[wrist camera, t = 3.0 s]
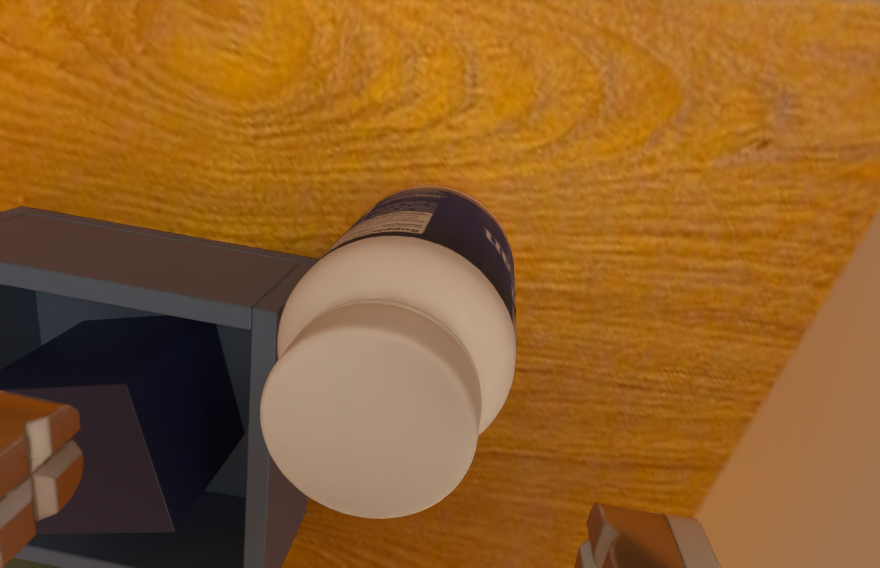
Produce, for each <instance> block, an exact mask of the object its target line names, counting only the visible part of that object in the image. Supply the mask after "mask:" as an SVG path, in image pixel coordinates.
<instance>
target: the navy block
mask: <svg viewBox="0 0 880 568" xmlns="http://www.w3.org/2000/svg"><path fill="white" fill-rule="evenodd" d="M0 390H1V391H6V392H9V393H12V392H13V393H18V394H22V395H27V396H32V397H37V398H41V399H46V400H51V401H56V402H61V403H65V404H70V405H72V406H73V407H75V408H76V409H77V410H79V416H80V424H81V429H80V430H79V432H78V433H77V434H76V435H75V436H74V437H73V439H74V441H75V442H76V443H77V445H78V446H79V447H80V449H81V450H82V451H83V458H84V468H83V473H82V478H81V481H80V483H79V485H78V487H77V489H76V491H75V493H74V495H73V496H72V498H71V500H70V501H69V502H68V503H67V504H66V505H65V506H64V507H63V508H62V509H61V510H60V511H59V512H58V513H56V514H54V515H51V516H49V517H47V518H44V519H42V520H40V521H38V522H37V533H36V534H62V533H150V532H175V531H176V530H177V528H178V527H179V525H180V524H181V523H182V521H183V520H184V518H185V517H186V516H187V514H188V513H189V511H190V510H191V509H192V507H193V506H194V504H195V503H196V502H197V500H198V499H199V498H200V496H201V495H202V493H203V492H204V491H205V489H206V488H207V486H208V485H209V484H210V482H211V481H212V479H213V478H214V477H215V475H216V474H217V472H218V471H219V470H220V468H221V467H222V465H223V464H224V463H225V461H226V460H227V459H228V457H229V456H230V454H231V453H232V452H233V450H234V449H235V447H236V446H237V445H238V443H239V442H240V440H241V439H242V438H243V436H244V435H245V433H244V429H243V425H242V421H241V418H240V414H239V410H238V406H237V402H236V399H235V395H234V391H233V387H232V383H231V380H230V376H229V372H228V368H227V364H226V361H225V357H224V353H223V349H222V345H221V342H220V338H219V334H218V330H217V326H216V324H214V323H208V322H203V321H197V320H192V319H186V318H181V317H176V316H170V315H160V316H145V317H131V318H116V319H101V320H87V321H82V322H80V323H79V324H77V325H75V326H74V327H72V328H70V329H69V330H67V331H65V332H64V333H62V334H60V335H58V336H57V337H55V338H53V339H52V340H50V341H48V342H47V343H45V344H43V345H42V346H40V347H38V348H37V349H35V350H33V351H32V352H30V353H28V354H27V355H25V356H23V357H22V358H20V359H18V360H17V361H15V362H13V363H12V364H10V365H8V366H7V367H5V368H3V369H2V370H0Z"/></svg>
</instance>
